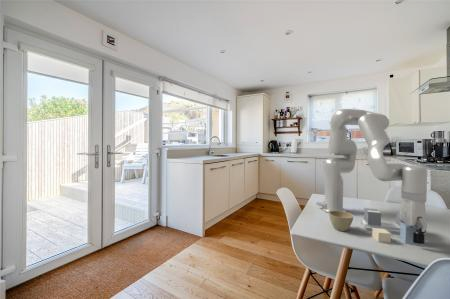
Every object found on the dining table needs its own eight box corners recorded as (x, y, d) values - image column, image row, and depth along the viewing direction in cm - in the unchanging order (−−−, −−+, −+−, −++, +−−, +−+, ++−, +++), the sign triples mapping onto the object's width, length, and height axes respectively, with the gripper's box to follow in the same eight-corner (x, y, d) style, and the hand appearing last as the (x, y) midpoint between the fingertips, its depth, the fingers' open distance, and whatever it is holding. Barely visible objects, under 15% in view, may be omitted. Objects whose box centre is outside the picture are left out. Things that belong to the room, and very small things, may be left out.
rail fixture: (366, 230, 93) (366, 212, 93) (360, 222, 102) (361, 206, 101) (421, 237, 87) (421, 218, 86) (410, 228, 95) (410, 211, 95)
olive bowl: (353, 235, 88) (353, 219, 88) (327, 230, 93) (327, 215, 93) (353, 227, 96) (353, 212, 96) (329, 223, 102) (329, 209, 101)
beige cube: (378, 242, 83) (378, 232, 82) (372, 237, 87) (372, 228, 87) (390, 243, 82) (391, 233, 82) (384, 238, 86) (384, 228, 86)
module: (405, 243, 81) (405, 226, 81) (399, 238, 86) (400, 222, 85) (424, 246, 79) (425, 228, 79) (417, 240, 84) (418, 224, 83)
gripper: (392, 190, 91) (391, 227, 92) (413, 201, 75) (411, 246, 76) (413, 192, 89) (412, 230, 89) (439, 203, 72) (437, 250, 73)
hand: (411, 237), depth 82 cm, fingers open, 9 cm apart
